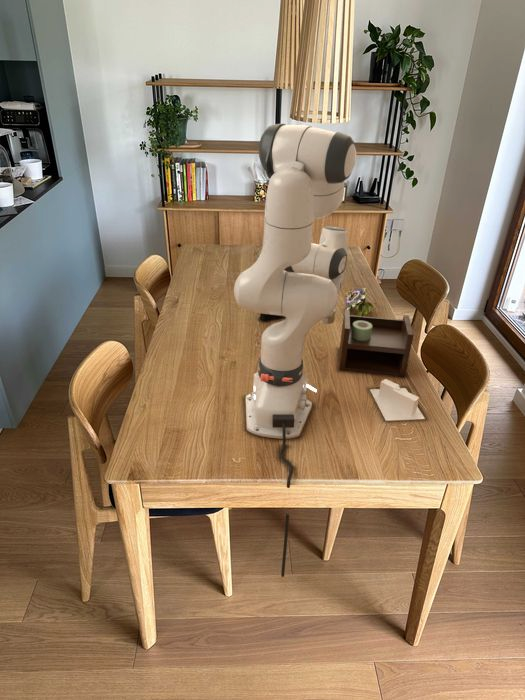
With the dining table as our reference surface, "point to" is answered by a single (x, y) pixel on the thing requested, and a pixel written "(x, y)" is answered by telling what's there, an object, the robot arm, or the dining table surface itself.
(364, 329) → the sage tape roll
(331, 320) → the cream tape roll
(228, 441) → the dining table surface
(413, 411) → the napkin holder
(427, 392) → the dining table surface
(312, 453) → the dining table surface
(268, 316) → the film camera
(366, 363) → the shelf
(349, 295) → the passion flower
